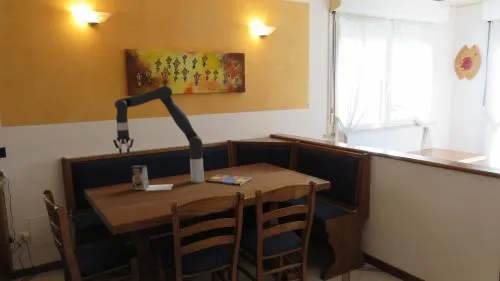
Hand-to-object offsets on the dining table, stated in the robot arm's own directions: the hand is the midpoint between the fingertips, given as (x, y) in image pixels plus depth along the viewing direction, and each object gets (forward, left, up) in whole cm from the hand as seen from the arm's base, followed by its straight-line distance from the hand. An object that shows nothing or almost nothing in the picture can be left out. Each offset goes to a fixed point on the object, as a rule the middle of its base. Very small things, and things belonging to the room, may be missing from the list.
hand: (124, 153), depth 267 cm
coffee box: (-10, 0, -25) cm, 27 cm away
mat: (-22, -1, -25) cm, 33 cm away
